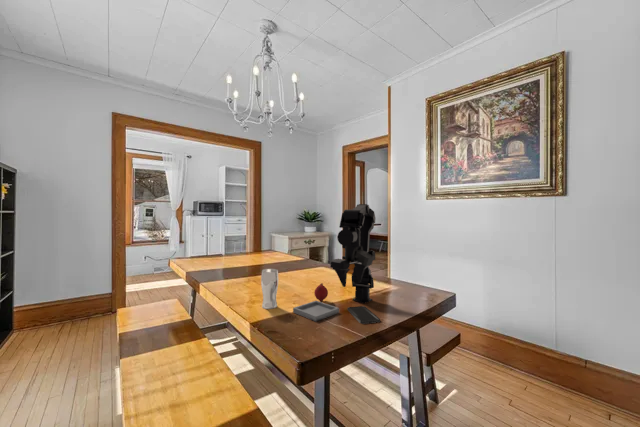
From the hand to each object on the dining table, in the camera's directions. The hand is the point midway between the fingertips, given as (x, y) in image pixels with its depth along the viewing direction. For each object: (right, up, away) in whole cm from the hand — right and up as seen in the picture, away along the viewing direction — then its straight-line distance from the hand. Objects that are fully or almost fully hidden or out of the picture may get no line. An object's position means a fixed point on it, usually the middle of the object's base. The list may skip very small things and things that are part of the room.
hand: (351, 284), depth 105 cm
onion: (-12, -12, +17) cm, 24 cm away
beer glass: (-33, -12, +10) cm, 36 cm away
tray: (-14, -12, +3) cm, 18 cm away
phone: (+4, -13, +1) cm, 13 cm away
